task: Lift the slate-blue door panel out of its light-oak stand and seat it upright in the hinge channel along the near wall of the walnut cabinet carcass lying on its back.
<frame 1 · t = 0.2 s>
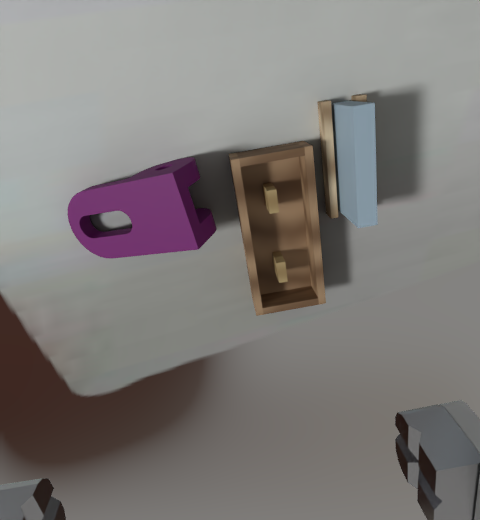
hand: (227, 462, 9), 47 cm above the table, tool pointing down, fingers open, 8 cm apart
mounting bracket: (140, 206, 55), on the table
door: (341, 157, 54), on the table
door stand: (341, 157, 54), on the table
carcass: (276, 225, 57), on the table
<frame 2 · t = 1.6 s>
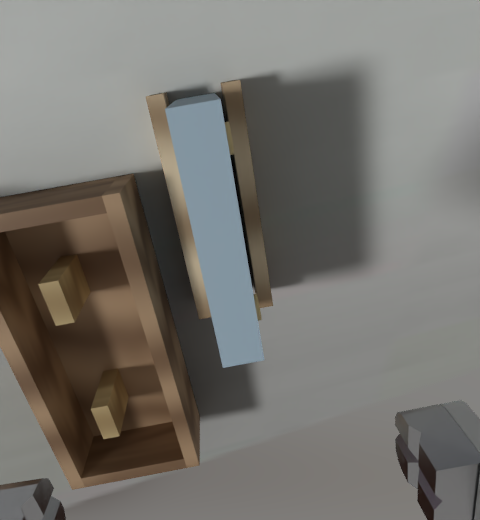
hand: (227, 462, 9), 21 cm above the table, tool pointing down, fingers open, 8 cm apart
door: (215, 202, 28), on the table
door stand: (215, 203, 28), on the table
carcass: (107, 324, 31), on the table
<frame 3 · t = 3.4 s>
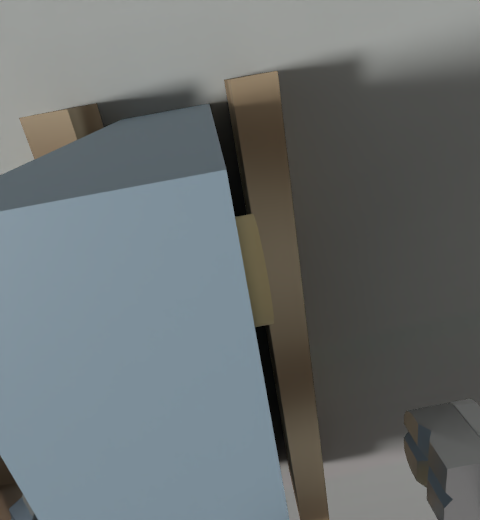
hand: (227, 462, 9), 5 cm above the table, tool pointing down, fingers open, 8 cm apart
door: (214, 325, 14), on the table
door stand: (214, 328, 14), on the table
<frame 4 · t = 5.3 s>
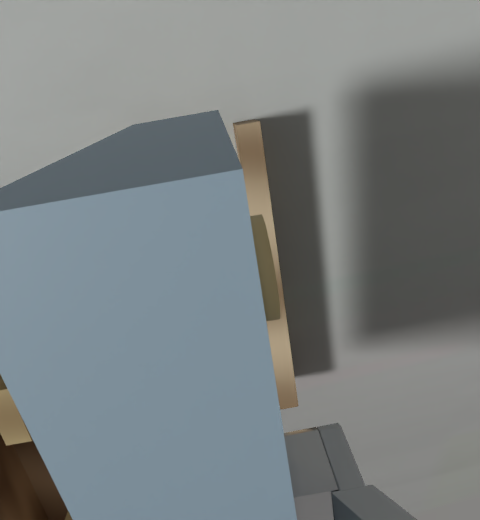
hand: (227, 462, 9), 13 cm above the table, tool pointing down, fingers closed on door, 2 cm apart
door: (219, 326, 14), point 8 cm above the table, touching gripper
door stand: (224, 273, 22), on the table
carcass: (85, 421, 25), on the table
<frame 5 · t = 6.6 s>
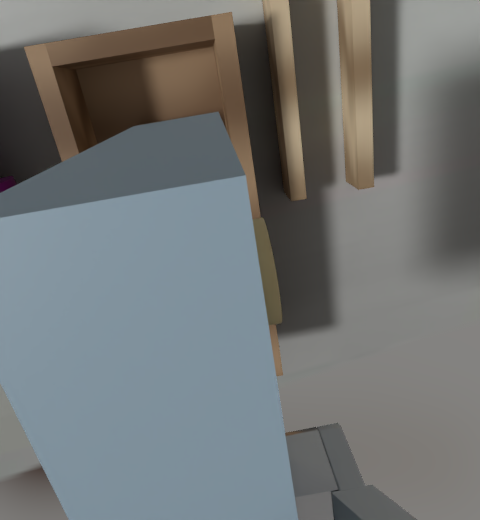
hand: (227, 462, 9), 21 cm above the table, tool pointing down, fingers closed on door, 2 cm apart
door: (220, 328, 14), point 15 cm above the table, touching gripper
door stand: (313, 67, 25), on the table
carcass: (182, 217, 28), on the table
when the fingers open (7 cm above the table, at t = 8.3 s): door stays where it is, resting on carcass.
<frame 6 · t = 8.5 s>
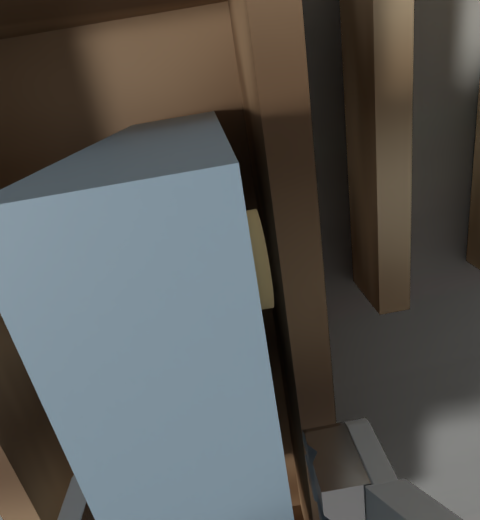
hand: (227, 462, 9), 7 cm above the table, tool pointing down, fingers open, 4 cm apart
door: (216, 322, 14), point 1 cm above the table, touching carcass
door stand: (428, 50, 12), on the table
carcass: (167, 326, 15), on the table
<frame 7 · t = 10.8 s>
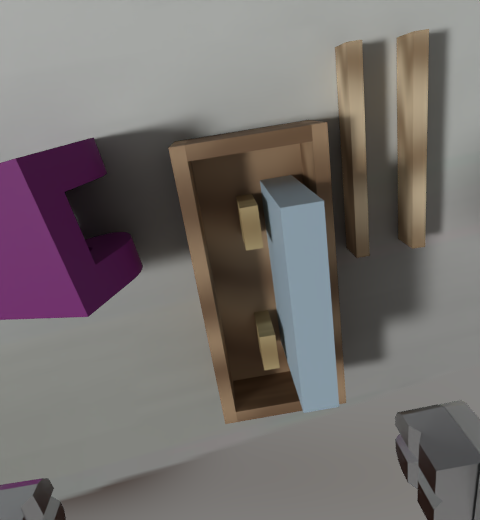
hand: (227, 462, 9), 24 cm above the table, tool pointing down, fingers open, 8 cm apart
mounting bracket: (15, 227, 31), on the table
door: (285, 263, 33), point 1 cm above the table, touching carcass
door stand: (375, 150, 31), on the table
carcass: (260, 267, 34), on the table
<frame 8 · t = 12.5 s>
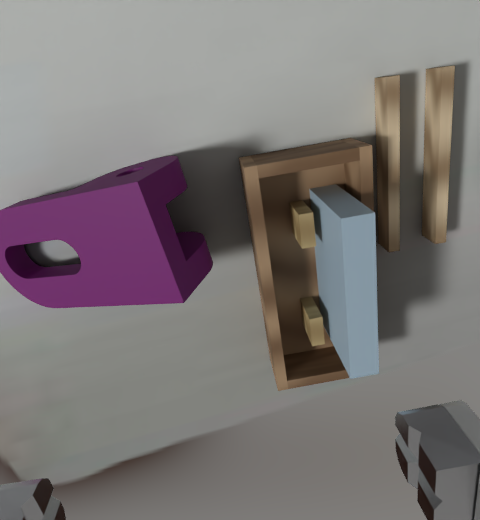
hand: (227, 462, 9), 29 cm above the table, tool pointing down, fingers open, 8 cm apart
mounting bracket: (101, 228, 37), on the table
door: (327, 257, 39), point 1 cm above the table, touching carcass
door stand: (405, 162, 37), on the table
carcass: (306, 260, 40), on the table
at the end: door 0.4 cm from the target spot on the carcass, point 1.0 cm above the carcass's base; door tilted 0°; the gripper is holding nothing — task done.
